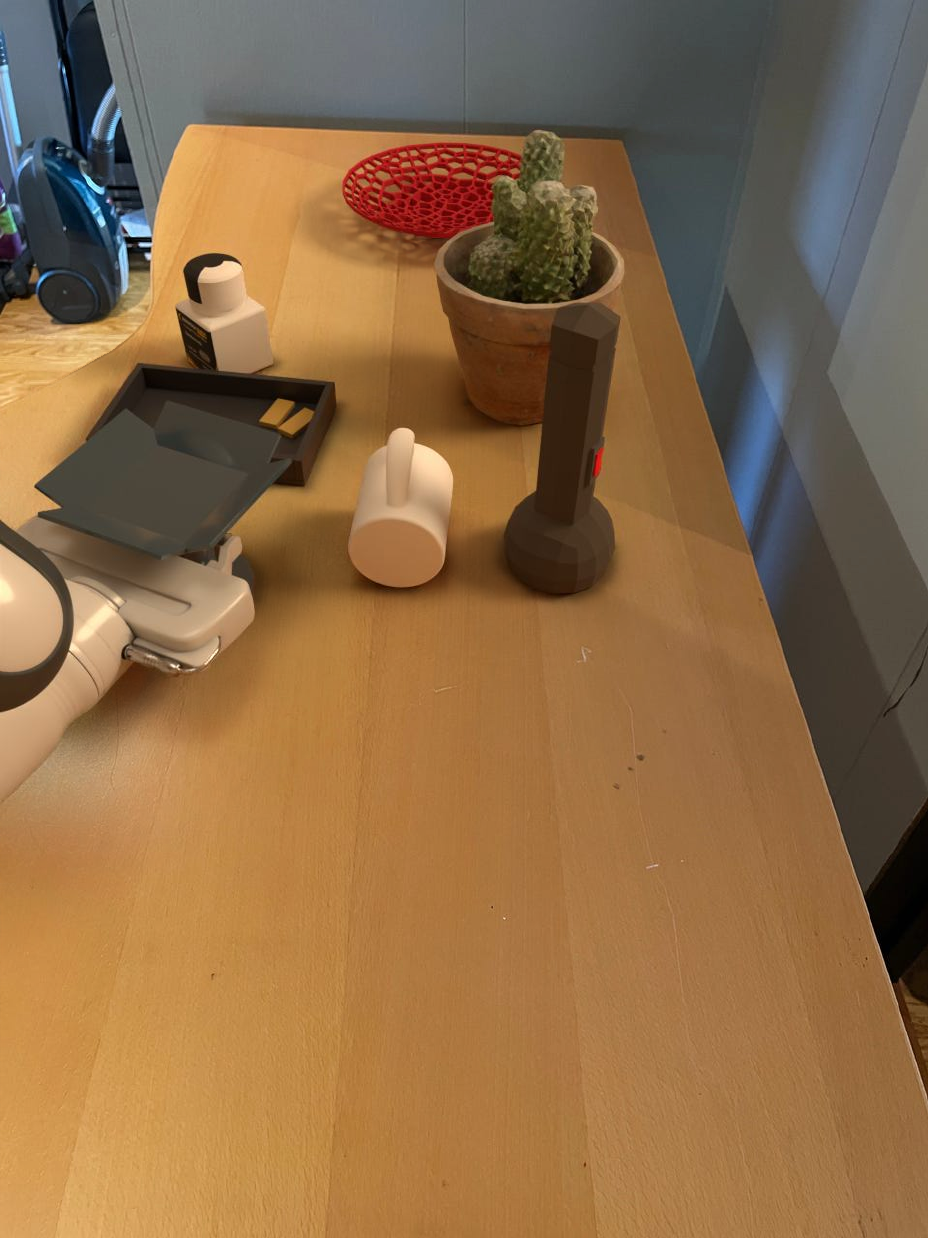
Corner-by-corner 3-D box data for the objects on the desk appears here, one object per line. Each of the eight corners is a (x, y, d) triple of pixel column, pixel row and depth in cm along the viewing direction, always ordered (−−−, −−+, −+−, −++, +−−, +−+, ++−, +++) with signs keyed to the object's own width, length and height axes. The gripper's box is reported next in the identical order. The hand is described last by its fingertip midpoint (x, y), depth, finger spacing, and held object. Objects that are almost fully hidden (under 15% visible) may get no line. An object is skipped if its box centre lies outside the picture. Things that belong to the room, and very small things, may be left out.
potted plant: (631, 429, 99) (675, 189, 80) (464, 460, 95) (470, 215, 76) (566, 340, 110) (591, 113, 92) (415, 364, 106) (409, 131, 88)
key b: (319, 413, 98) (320, 418, 98) (304, 407, 98) (305, 411, 99) (292, 434, 95) (292, 439, 96) (277, 427, 96) (277, 432, 96)
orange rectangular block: (294, 401, 99) (295, 406, 99) (277, 397, 99) (278, 402, 100) (276, 424, 96) (276, 429, 97) (258, 420, 97) (259, 425, 97)
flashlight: (482, 569, 84) (581, 612, 81) (493, 314, 66) (622, 356, 62) (535, 508, 90) (629, 546, 86) (558, 258, 71) (679, 294, 68)
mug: (351, 585, 82) (340, 478, 74) (366, 509, 89) (358, 402, 80) (444, 591, 82) (444, 484, 73) (453, 514, 89) (454, 407, 80)
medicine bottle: (186, 361, 106) (163, 259, 97) (240, 339, 109) (222, 239, 100) (220, 388, 102) (199, 285, 94) (275, 364, 106) (259, 263, 97)
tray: (93, 463, 93) (85, 438, 91) (144, 387, 102) (137, 362, 100) (304, 486, 91) (301, 460, 89) (337, 406, 101) (334, 381, 98)
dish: (222, 685, 75) (190, 568, 65) (61, 622, 79) (8, 503, 69) (323, 558, 85) (308, 440, 75) (175, 509, 89) (143, 391, 79)
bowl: (490, 292, 118) (492, 254, 114) (301, 235, 127) (297, 198, 124) (589, 206, 135) (593, 170, 131) (416, 162, 145) (415, 127, 141)
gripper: (183, 654, 64) (289, 531, 72) (-48, 565, 69) (77, 460, 78) (200, 710, 68) (298, 588, 77) (-17, 623, 74) (97, 517, 82)
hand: (185, 523), depth 77 cm, fingers open, 8 cm apart
